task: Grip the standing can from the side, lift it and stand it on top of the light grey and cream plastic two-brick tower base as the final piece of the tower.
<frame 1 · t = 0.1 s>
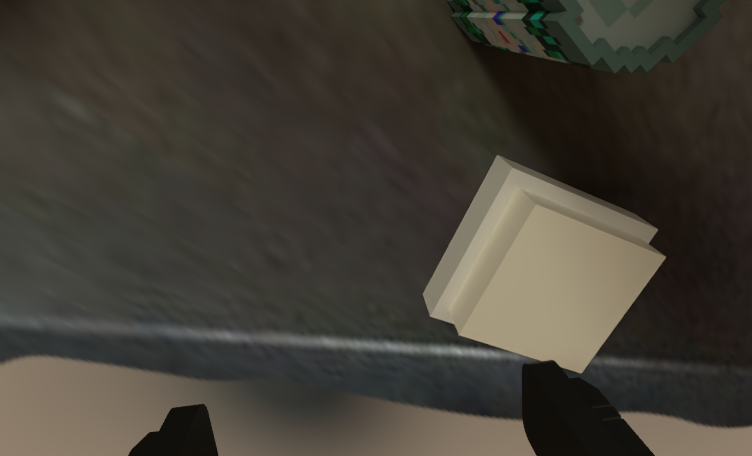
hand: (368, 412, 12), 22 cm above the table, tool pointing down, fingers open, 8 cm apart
tower base: (526, 254, 37), on the table
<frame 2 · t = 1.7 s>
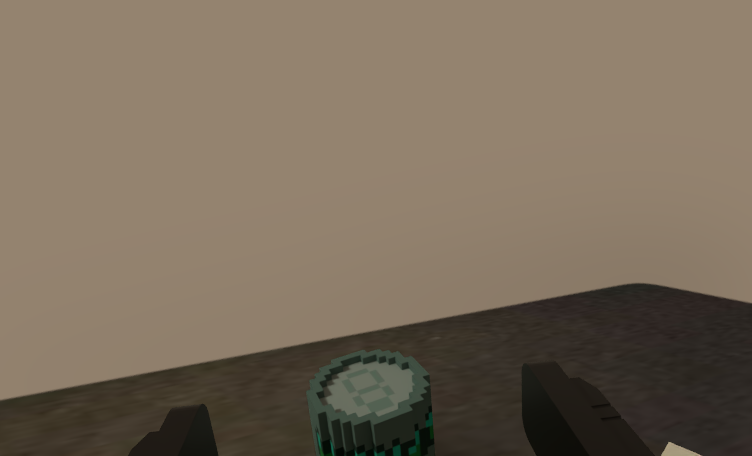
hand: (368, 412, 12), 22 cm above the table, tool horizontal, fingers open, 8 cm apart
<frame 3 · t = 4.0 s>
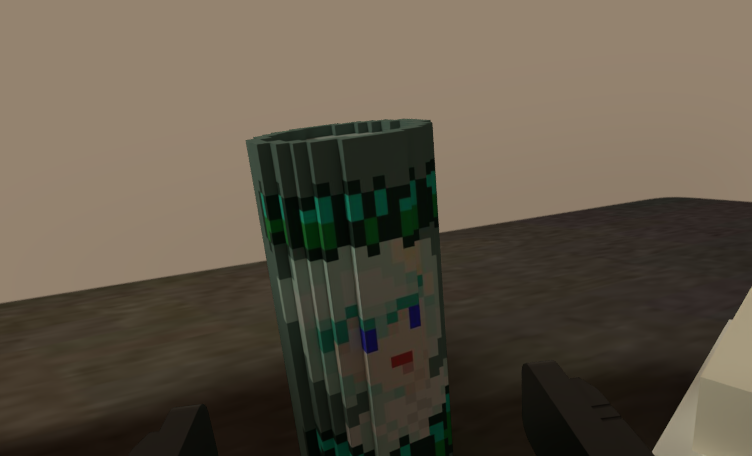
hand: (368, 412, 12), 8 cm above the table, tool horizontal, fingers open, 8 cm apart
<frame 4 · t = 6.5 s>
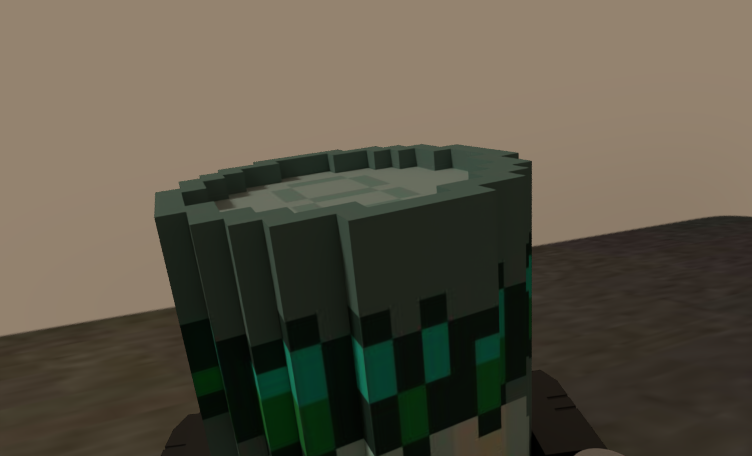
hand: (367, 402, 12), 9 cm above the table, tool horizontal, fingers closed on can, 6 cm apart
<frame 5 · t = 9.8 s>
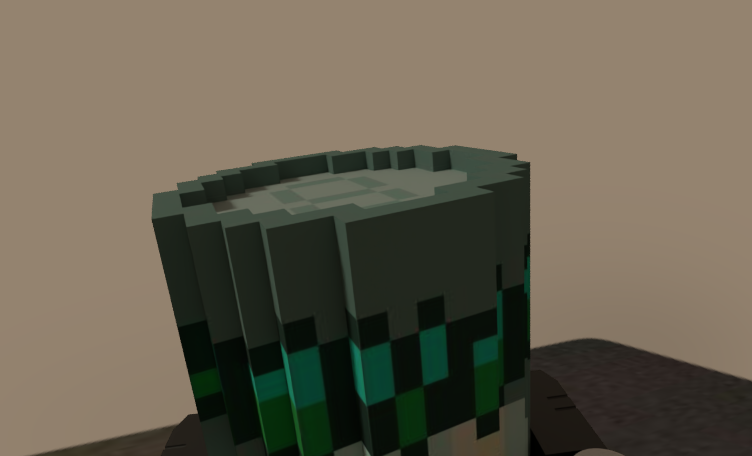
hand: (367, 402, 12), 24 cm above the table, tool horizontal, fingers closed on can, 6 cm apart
when the fingers open (16 cm above the table, at t = 13.3 s): can drops 1 cm, resting on tower base.
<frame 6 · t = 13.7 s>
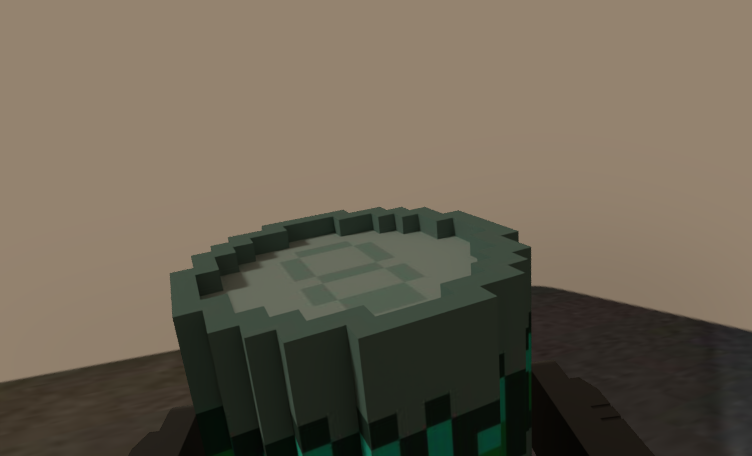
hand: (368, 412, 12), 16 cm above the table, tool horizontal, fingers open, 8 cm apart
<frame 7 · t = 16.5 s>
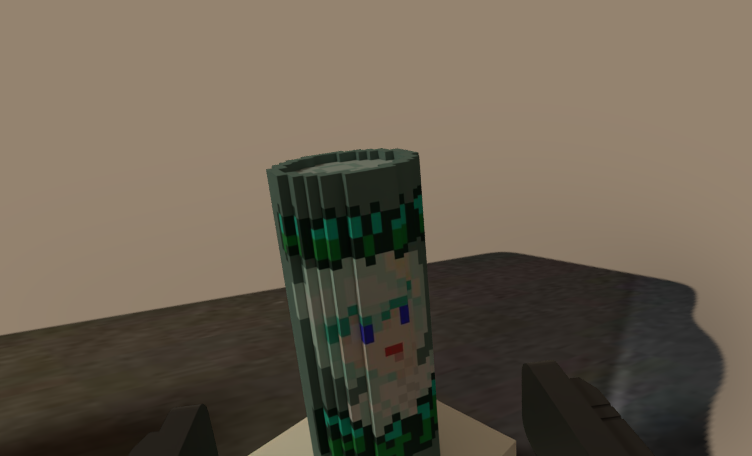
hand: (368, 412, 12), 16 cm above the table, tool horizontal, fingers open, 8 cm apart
can: (377, 455, 24), point 6 cm above the table, touching tower base
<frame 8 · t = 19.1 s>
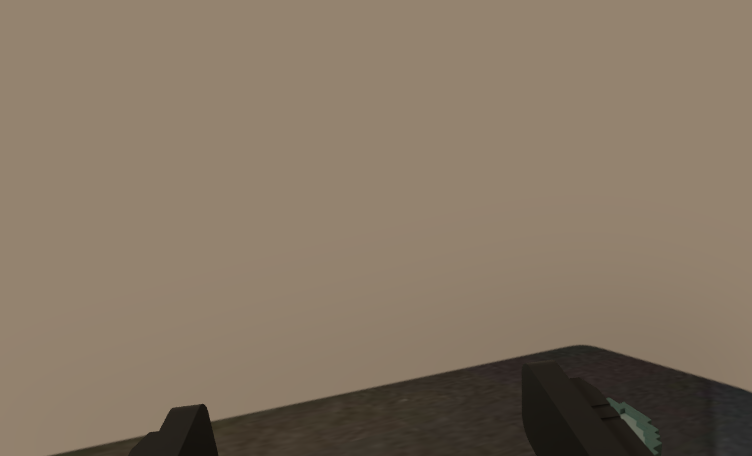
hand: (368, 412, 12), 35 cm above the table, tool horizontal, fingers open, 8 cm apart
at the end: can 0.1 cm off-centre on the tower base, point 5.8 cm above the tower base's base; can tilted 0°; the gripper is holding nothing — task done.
